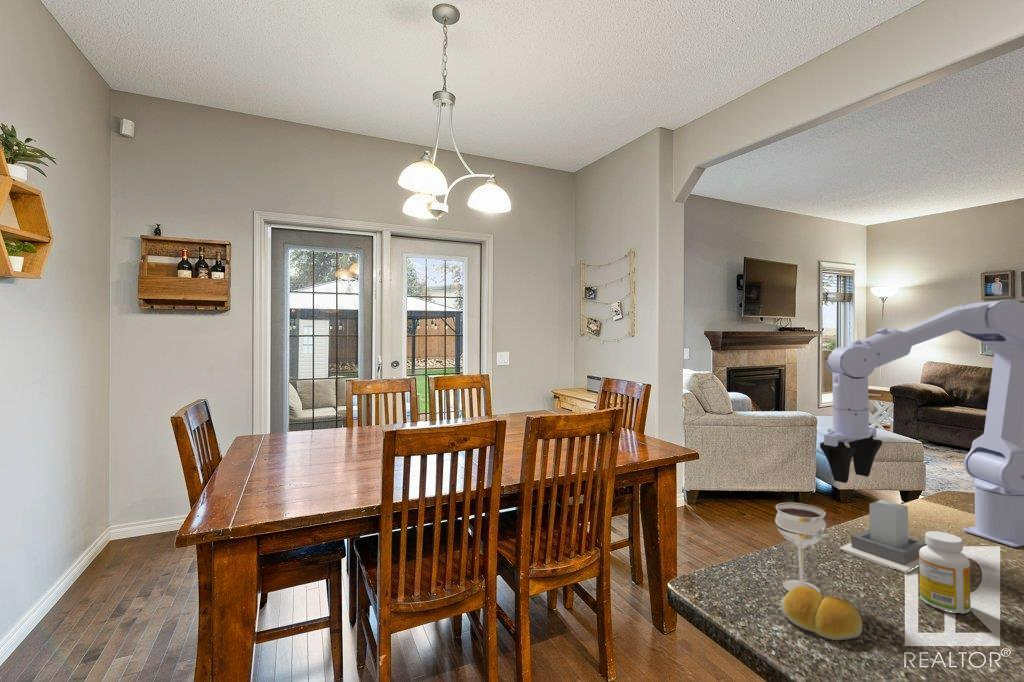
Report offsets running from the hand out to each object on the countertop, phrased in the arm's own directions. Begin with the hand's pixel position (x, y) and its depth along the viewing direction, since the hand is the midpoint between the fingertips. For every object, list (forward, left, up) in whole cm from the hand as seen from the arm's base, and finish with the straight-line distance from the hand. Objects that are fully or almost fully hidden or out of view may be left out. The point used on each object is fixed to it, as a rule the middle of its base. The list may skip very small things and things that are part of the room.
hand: (851, 478), depth 94 cm
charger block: (+3, +9, -10) cm, 14 cm away
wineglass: (+27, +13, -11) cm, 32 cm away
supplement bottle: (+12, +23, -11) cm, 28 cm away
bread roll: (+32, +20, -11) cm, 39 cm away
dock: (+3, +9, -10) cm, 14 cm away
